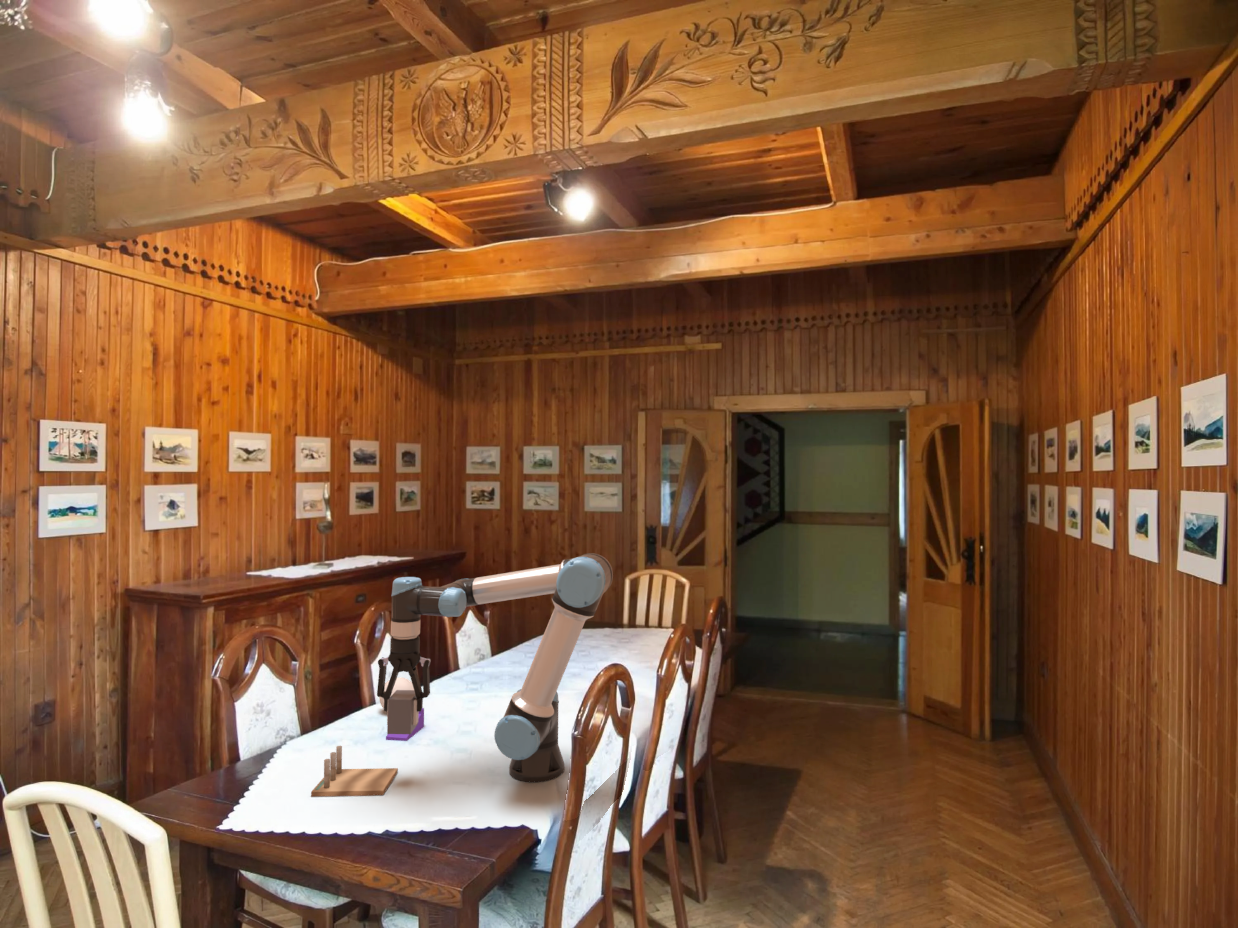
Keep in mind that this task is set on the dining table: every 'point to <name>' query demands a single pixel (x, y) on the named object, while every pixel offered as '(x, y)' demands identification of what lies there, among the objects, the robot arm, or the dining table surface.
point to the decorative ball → (398, 687)
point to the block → (401, 712)
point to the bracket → (407, 736)
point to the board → (352, 779)
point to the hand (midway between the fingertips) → (402, 722)
